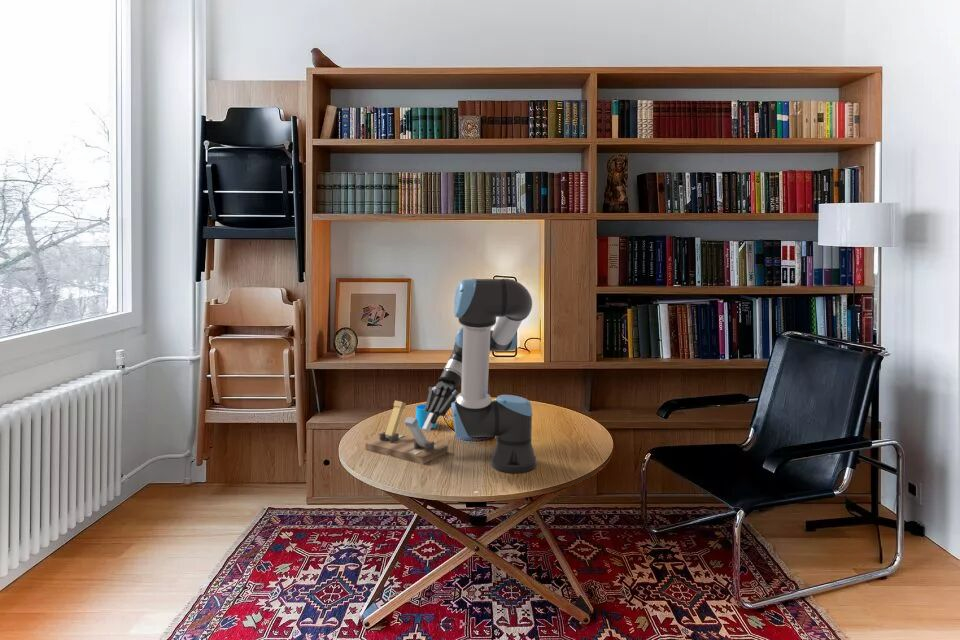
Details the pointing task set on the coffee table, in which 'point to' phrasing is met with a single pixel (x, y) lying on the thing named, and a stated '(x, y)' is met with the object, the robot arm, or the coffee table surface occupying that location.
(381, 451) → the console
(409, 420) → the grey lever
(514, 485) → the coffee table surface
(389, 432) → the ochre lever
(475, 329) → the robot arm
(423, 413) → the mug
